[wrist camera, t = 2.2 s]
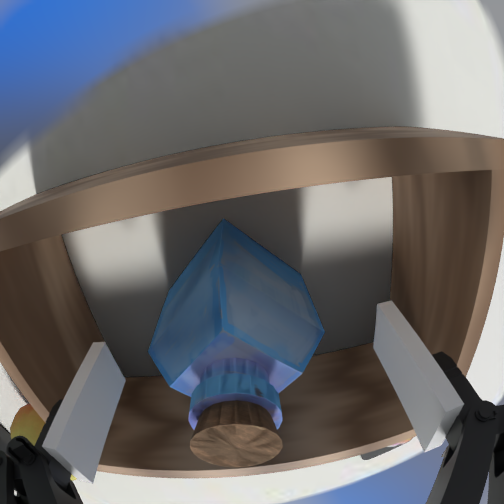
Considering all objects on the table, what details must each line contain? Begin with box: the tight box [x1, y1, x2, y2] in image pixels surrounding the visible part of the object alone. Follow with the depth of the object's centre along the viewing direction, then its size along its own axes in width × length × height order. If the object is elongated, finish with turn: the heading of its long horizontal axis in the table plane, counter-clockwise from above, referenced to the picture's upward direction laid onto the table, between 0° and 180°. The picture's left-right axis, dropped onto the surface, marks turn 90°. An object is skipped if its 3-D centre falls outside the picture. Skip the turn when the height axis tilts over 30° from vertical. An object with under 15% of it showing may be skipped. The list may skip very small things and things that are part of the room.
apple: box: [10, 404, 77, 480], centre depth 22 cm, size 10×10×8 cm
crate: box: [0, 127, 504, 478], centre depth 16 cm, size 24×17×9 cm
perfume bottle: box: [148, 219, 325, 467], centre depth 14 cm, size 6×6×12 cm
